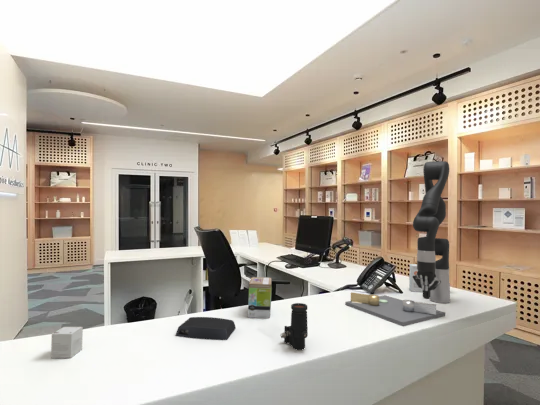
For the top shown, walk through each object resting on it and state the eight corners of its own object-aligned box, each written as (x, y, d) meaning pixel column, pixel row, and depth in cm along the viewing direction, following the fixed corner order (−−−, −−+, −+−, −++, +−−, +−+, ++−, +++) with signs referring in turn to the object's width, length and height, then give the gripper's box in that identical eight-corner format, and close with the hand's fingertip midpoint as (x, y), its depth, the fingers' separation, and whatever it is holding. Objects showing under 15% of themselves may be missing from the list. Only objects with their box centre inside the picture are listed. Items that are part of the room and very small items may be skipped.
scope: (299, 299, 109) (316, 306, 100) (299, 338, 108) (316, 349, 99) (280, 302, 105) (295, 310, 96) (279, 342, 104) (295, 354, 95)
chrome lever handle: (402, 310, 137) (402, 301, 137) (403, 307, 141) (403, 299, 142) (436, 315, 130) (436, 306, 131) (436, 312, 135) (436, 303, 135)
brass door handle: (380, 303, 148) (380, 295, 148) (378, 306, 143) (378, 297, 144) (352, 299, 154) (352, 291, 154) (349, 301, 150) (349, 293, 150)
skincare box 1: (82, 349, 97) (83, 326, 97) (70, 358, 90) (71, 333, 91) (63, 349, 96) (64, 326, 97) (49, 358, 90) (51, 333, 91)
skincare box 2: (411, 292, 180) (411, 265, 181) (408, 289, 185) (408, 263, 186) (449, 294, 177) (449, 266, 177) (446, 291, 182) (445, 265, 183)
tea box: (270, 318, 129) (271, 283, 130) (247, 318, 129) (248, 283, 130) (271, 308, 144) (271, 276, 145) (250, 307, 144) (250, 276, 145)
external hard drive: (189, 325, 121) (189, 314, 121) (236, 328, 118) (236, 318, 118) (174, 338, 108) (174, 326, 108) (226, 342, 105) (226, 330, 105)
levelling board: (385, 298, 165) (385, 293, 165) (445, 315, 136) (445, 310, 136) (345, 304, 151) (345, 300, 151) (403, 326, 122) (402, 320, 122)
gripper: (445, 261, 134) (445, 301, 133) (418, 257, 145) (418, 294, 145) (435, 263, 130) (435, 303, 130) (408, 258, 142) (408, 296, 141)
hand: (426, 298), depth 137 cm, fingers closed
